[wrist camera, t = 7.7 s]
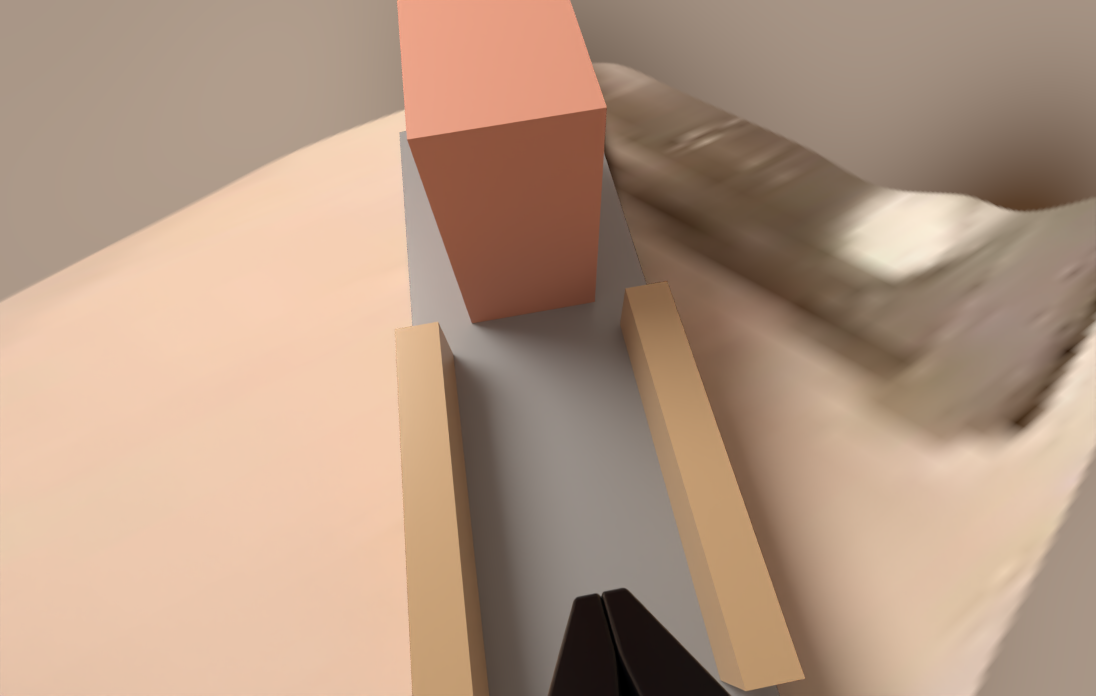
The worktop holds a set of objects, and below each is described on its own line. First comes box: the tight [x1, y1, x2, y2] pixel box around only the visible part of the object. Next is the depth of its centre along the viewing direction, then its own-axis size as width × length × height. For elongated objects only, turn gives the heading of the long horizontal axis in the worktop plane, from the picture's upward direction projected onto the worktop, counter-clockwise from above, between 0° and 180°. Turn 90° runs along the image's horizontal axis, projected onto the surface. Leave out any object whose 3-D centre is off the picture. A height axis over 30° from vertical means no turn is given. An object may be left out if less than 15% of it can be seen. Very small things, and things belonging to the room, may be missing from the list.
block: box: [397, 0, 607, 323], centre depth 19 cm, size 9×5×9 cm, turn 10°
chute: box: [395, 131, 805, 696], centre depth 19 cm, size 26×10×3 cm, turn 10°
